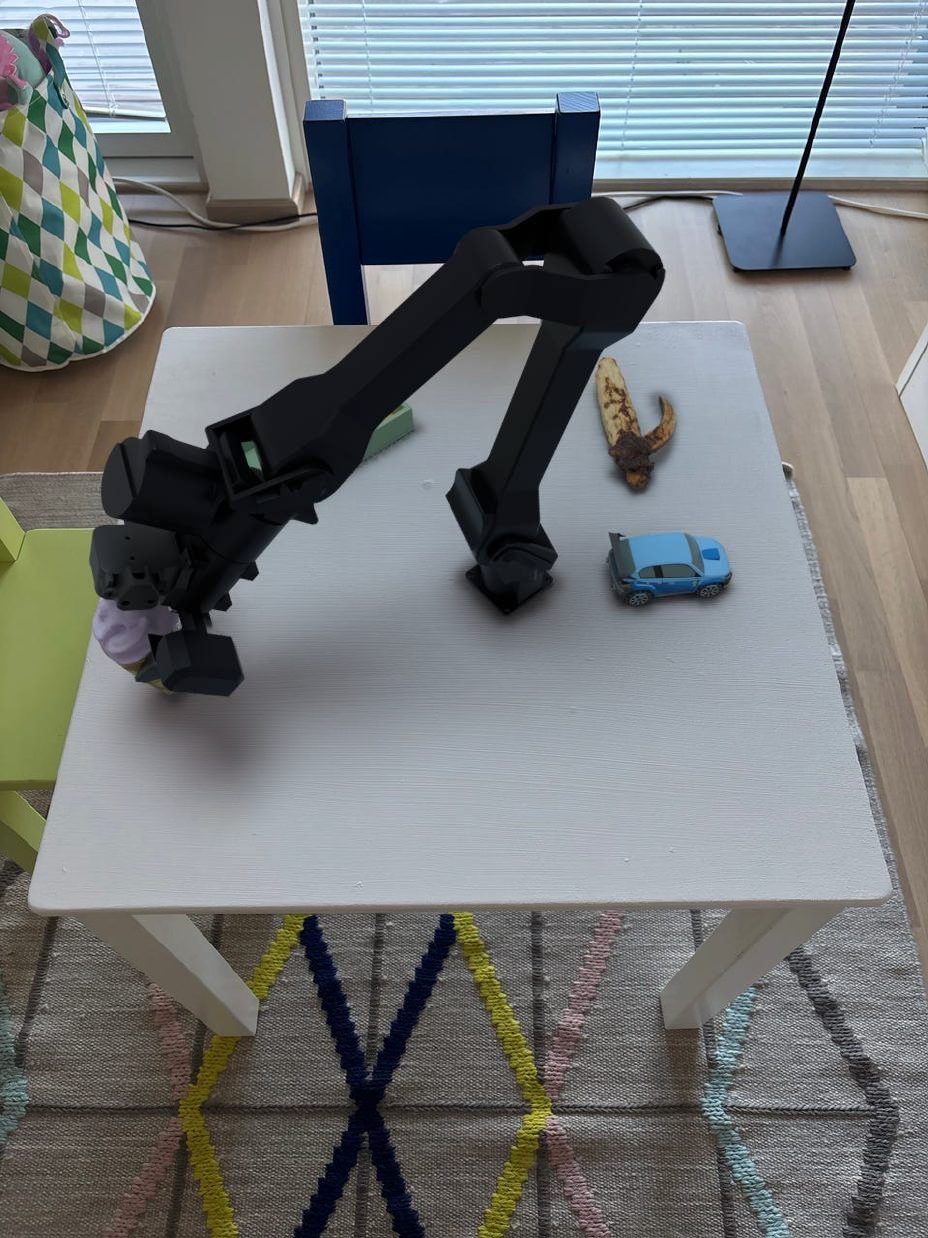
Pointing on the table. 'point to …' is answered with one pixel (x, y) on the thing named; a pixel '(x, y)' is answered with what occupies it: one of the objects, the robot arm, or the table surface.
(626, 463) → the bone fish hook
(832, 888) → the table surface
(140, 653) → the ice cream cone
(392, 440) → the divided tray
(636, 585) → the toy car
